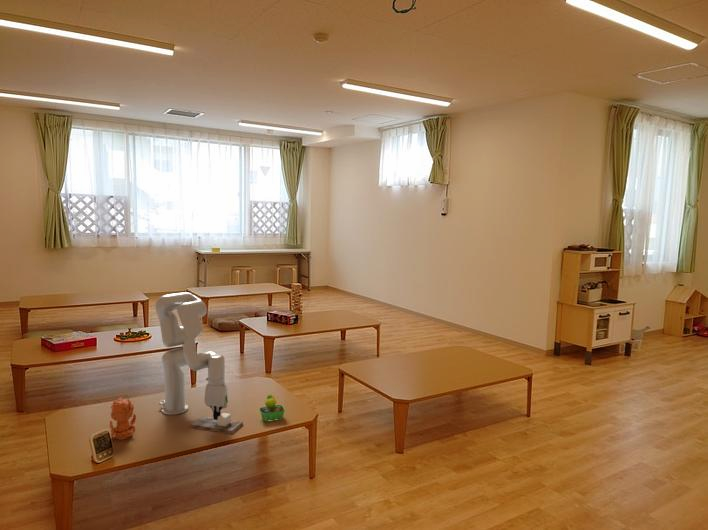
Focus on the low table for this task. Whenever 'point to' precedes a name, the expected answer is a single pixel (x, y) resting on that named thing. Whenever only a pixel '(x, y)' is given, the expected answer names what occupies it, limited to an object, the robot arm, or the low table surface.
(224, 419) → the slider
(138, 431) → the low table surface
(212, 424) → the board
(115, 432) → the orange figurine
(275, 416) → the fruit basket
